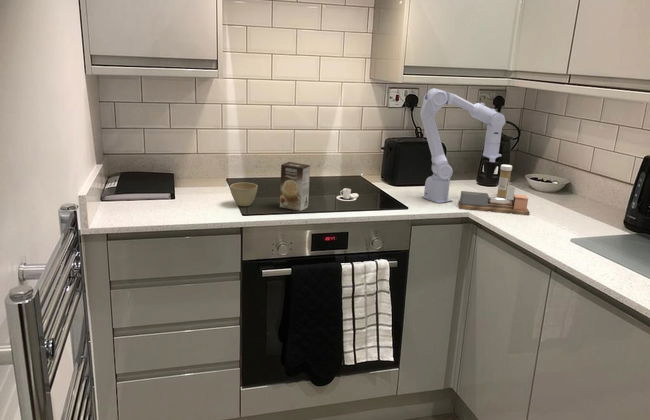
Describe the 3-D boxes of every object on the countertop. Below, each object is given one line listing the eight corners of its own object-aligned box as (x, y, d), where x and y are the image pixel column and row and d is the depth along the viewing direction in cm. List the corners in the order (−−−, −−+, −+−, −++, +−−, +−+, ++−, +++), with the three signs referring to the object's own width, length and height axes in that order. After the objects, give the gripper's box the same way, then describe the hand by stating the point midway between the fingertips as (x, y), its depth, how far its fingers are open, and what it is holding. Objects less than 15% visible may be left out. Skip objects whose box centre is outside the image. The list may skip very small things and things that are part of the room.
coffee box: (278, 207, 196) (279, 164, 191) (287, 203, 201) (288, 161, 197) (301, 211, 192) (302, 167, 187) (309, 207, 198) (310, 164, 193)
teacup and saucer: (358, 197, 216) (358, 187, 214) (358, 202, 208) (359, 192, 207) (336, 196, 216) (337, 186, 215) (336, 201, 208) (336, 191, 207)
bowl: (235, 199, 202) (235, 181, 200) (261, 202, 201) (261, 183, 199) (225, 206, 193) (225, 187, 191) (252, 209, 191) (252, 190, 189)
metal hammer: (481, 204, 205) (483, 184, 203) (480, 202, 208) (483, 183, 206) (520, 207, 203) (523, 188, 201) (519, 205, 206) (522, 186, 203)
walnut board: (459, 208, 205) (459, 205, 204) (458, 203, 212) (458, 200, 212) (529, 215, 201) (529, 212, 200) (525, 209, 208) (525, 206, 208)
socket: (513, 209, 202) (515, 197, 201) (511, 206, 207) (513, 194, 206) (526, 210, 202) (528, 198, 200) (523, 207, 207) (525, 195, 205)
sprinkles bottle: (510, 197, 225) (514, 165, 222) (503, 198, 223) (507, 166, 219) (501, 194, 229) (505, 163, 225) (494, 195, 227) (498, 164, 223)
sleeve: (460, 204, 206) (461, 193, 205) (459, 201, 210) (461, 190, 209) (487, 207, 204) (488, 196, 203) (485, 204, 208) (487, 193, 207)
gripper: (505, 146, 202) (500, 181, 206) (500, 140, 216) (495, 173, 220) (486, 145, 203) (481, 179, 207) (482, 139, 217) (478, 172, 221)
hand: (487, 176), depth 214 cm, fingers open, 7 cm apart
